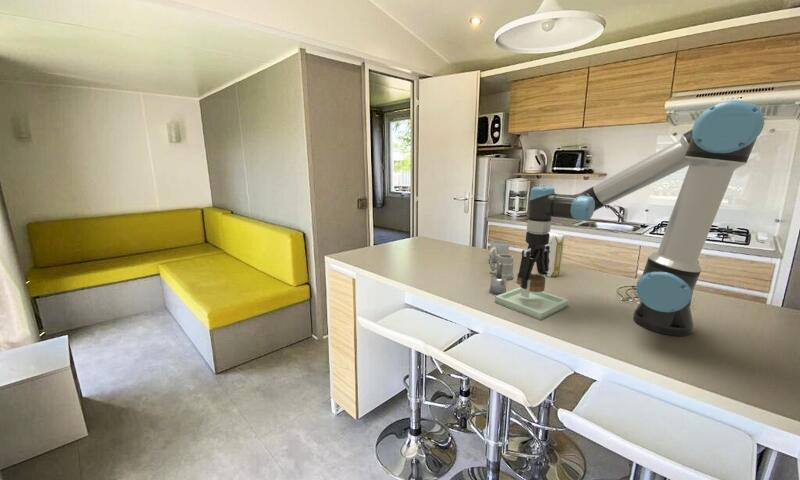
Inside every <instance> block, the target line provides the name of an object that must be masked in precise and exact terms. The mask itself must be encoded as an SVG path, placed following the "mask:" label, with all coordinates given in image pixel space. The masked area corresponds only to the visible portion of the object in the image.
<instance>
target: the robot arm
mask: <svg viewBox="0 0 800 480" xmlns="http://www.w3.org/2000/svg"><path fill="white" fill-rule="evenodd" d="M764 125H765V116H764V114H763V112H762V110H761V109H760V108H759V107H758V106H757V105H755V104H754V103H752V102H748V101H745V100H739V99H738V100H737V99H736V100H735V99H734V100H733V99H731V100H726V101H722V102H719V103H716V104H714V105H712V106H710V107H708V108H707V109H706V110H704V111H702V113H701V114H700V115H699V116H698V117H697V118H696V120H695V121H694V123H693V126H692V129H690V130H688V131H687V132H685V133H683V134H681V137H680V139H679V140H678V141H676V142H674V143H672V144H670V145H668V146H666V147H664V148H663V149H661V150H659V151H657V152H655V153H653V154H652V155H650V156H648V157H646V158H644V159H642V160H640V161H638V162H637V163H635V164H632V165H631V166H629V167H627V168H625V169H623V170H622V171H620V172H618V173H616V174H614V175H612V176H610V177H608V178H606V179H604V180H603V181H600V182H599V183H597V184H595V185H594V186H591V187H589V188H587V189H586V190H584V191H582V192H580V193H576V194H563V193H562V194H561V193H556V192H555V187H551V186H533V187H532V188H531V190H530V194H529V199H528V201H529V203H528V214H527V222H526V223H527V224H526V233H525V243H526V244H527V245H528V246H527V248H526V250H525V249H523V250H522V251H521V258H520V259H521V260H520V264H519V265H520V266H519V269H518V270H519V271H518V273H519V274H518V273H517V274H518V278H521V279H522V286H521V296H523V297H526V298H529V290H530V280H529V278H530V275H531V274H532V271H533V269H534V265H536V269H537V273H535V274H538V275H541V276H543V277H545V276H546V275H547V274H548V270H549V249H550V246H546V245H547V244H548V243H549V236H550V234H549V232H551V225H552V218H563V219H569V220H571V219H572V220H576V221H589V220H590V219H591V218H592V217H593V215H594V213H595V212H596V211H597V210H600V209H601V208H604V207H606V206H607V205H609V204H612V203H613V202H616V201H617V200H620V199H622V198H624V197H626V196H628V195H630V194H632V193H634V192H636V191H638V190H641V189H643V188H645V187H647V186H649V185H651V184H653V183H655V182H658V181H660V180H662V179H664V178H665V177H668V176H670V175H671V174H673V173H677V172H678V171H680V170H682V169H685V168H686V167H688V168H687V170H686V174H685V177H684V179H683V182H682V184H681V187H680V190H679V191H678V192H679V193H678V196H677V198H676V201H675V204H674V206H673V209H672V212H671V214H670V217H669V220H668V222H667V226H666V228H665V231H664V233H663V237H662V239H661V242H660V244H659V248H658V250H657V251H656V252H653V253H651V254H649V256H648V258H647V260H646V263H645V266H644V268H643V271H642V274H641V276H640V277H639V279H638V280H637V282H636V295H637V297H638V298H639V301H640V302H639V303H638V305H637V307H636V308H635V309H634V312H633V317H632V319H633V321H634V322H635V324H637V325H639V326H640V327H642V328H644V329H646V330H648V331H652V332H655V333H658V334H662V335H666V336H667V335H668V336H676V337H686V336H690V335H692V333H693V331H694V324H695V323H694V319H693V315H692V311H691V302H692V299H693V294H694V289H695V287H696V285H697V282H698V281H699V278H700V275H701V272H702V267H701V266H700V261H699V257H700V255H701V252H702V251H703V247H704V245H705V243H706V241H707V238H708V235H709V233H710V230H711V228H712V226H713V223H714V221H715V219H716V216H717V213H718V211H719V209H720V206H721V204H722V201H723V199H724V196H725V194H726V192H727V189H728V187H729V185H730V181H731V179H732V177H733V175H734V172H735V171H736V170H737V169H738V168H741V167H743V166H745V165H747V163H748V161H749V158H750V155H751V153H752V151H753V148H754V146H755V144H756V142H757V139H758V137H759V136H760V134H761V133H762V131H763V129H764ZM535 263H536V264H535ZM545 267H546V268H545Z"/></svg>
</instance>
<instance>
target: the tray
mask: <svg viewBox="0 0 800 480" xmlns="http://www.w3.org/2000/svg"><path fill="white" fill-rule="evenodd" d="M494 298H495V299H494V303H496V304H498V305H501V306H503V307H506V308H508V309H511V310H513V311H516V312H518V313H521V314H524V315H526V316H528V317H531V318H534V319H536V320H538V321H542V320H543V319H545V318H548V317H550V316H551V315H554V314H557V313H558V312H560V311H562V310H564V309H565V308H568V307H569V303H570V300H569V299H567V298H564V297H561V296H557V295H554V294H551V293H548V292H544V291H542V292H531V291H529V298H526V297H523V296H521V287H520V286H519V287H517V288H514V289H511V290H508V291H506V293H503V294H500V295H495V297H494Z"/></svg>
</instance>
